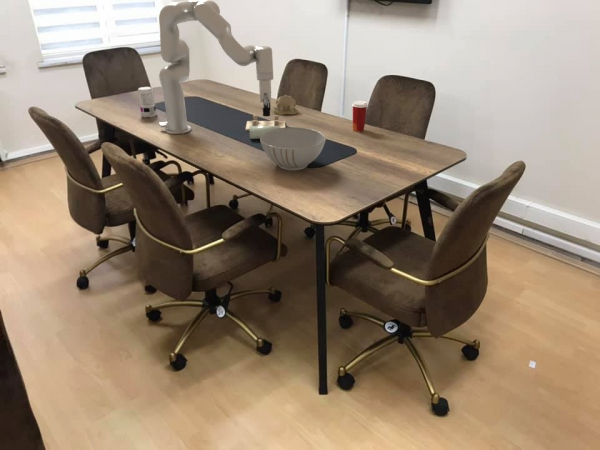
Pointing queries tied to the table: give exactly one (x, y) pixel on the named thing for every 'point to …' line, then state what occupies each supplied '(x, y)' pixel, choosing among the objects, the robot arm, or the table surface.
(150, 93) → the supplement can
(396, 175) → the table surface
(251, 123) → the bottle rest
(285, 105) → the ceramic model
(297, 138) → the decorative bowl
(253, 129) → the bottle
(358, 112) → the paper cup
